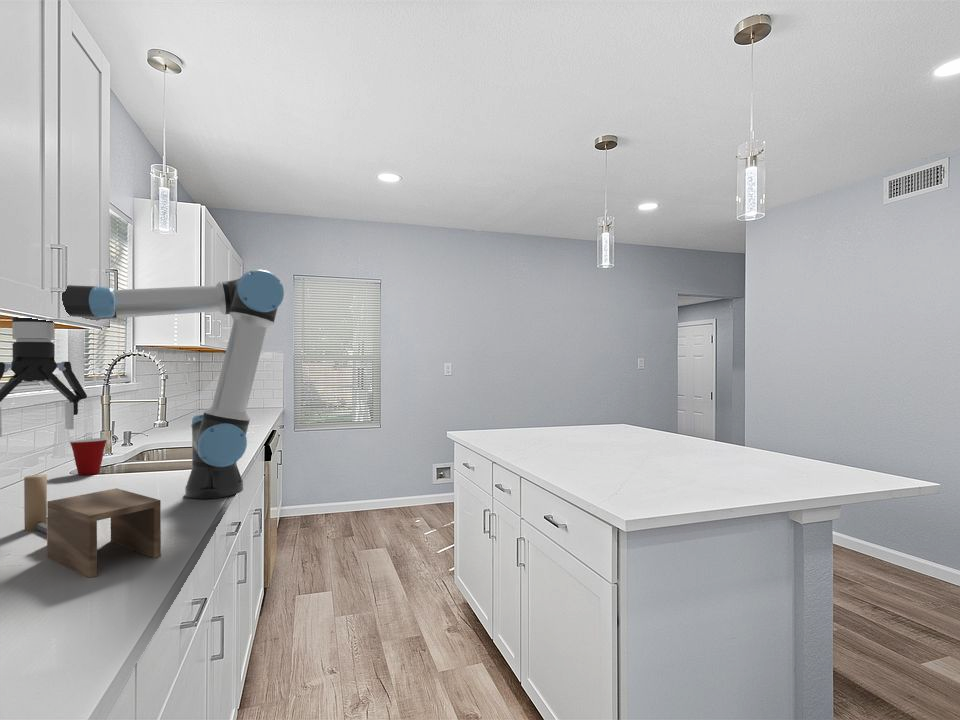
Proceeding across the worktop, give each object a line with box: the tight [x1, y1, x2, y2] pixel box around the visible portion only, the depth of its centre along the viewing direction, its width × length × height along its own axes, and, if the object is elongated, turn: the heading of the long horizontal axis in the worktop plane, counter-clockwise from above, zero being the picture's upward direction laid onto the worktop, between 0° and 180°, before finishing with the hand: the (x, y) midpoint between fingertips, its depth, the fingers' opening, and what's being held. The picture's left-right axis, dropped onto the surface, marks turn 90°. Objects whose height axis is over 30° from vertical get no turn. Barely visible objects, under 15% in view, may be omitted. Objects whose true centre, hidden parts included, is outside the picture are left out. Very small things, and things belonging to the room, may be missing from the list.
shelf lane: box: [47, 488, 162, 578], centre depth 107 cm, size 12×18×11 cm
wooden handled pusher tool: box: [23, 474, 48, 547], centre depth 119 cm, size 6×24×12 cm, turn 57°
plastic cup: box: [68, 437, 109, 476], centre depth 182 cm, size 11×11×12 cm
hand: (35, 432), depth 125 cm, fingers open, 13 cm apart
